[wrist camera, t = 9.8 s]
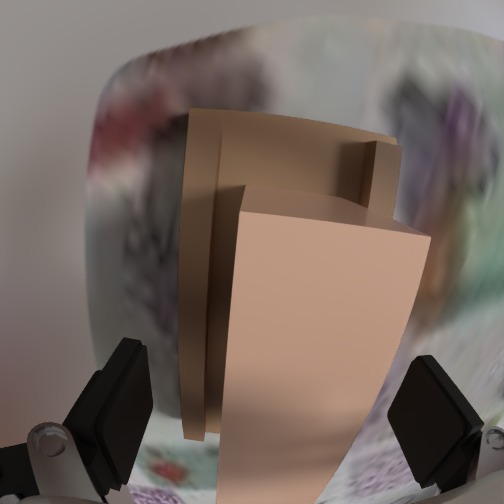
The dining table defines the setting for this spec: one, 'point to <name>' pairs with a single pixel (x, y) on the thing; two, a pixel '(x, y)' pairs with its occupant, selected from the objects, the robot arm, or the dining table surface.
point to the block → (308, 338)
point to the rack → (227, 219)
